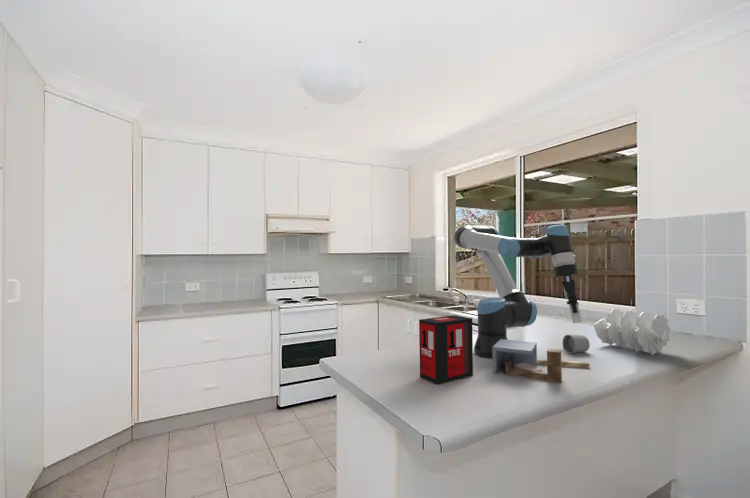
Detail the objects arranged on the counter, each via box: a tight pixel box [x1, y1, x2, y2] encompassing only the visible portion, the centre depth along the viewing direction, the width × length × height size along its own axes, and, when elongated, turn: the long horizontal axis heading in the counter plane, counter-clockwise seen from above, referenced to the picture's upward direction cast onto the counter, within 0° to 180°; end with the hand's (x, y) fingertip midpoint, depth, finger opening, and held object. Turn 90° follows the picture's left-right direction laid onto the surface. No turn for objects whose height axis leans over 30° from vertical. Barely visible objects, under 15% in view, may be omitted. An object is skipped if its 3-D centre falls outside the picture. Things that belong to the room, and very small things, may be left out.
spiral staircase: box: [593, 307, 671, 356], centre depth 165 cm, size 18×18×25 cm
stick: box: [537, 358, 591, 369], centre depth 143 cm, size 18×2×2 cm, turn 73°
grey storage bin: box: [492, 339, 538, 374], centre depth 138 cm, size 13×14×9 cm
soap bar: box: [514, 363, 543, 372], centre depth 136 cm, size 5×9×2 cm, turn 20°
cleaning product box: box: [418, 314, 474, 386], centre depth 132 cm, size 16×9×20 cm, turn 122°
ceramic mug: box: [561, 334, 591, 354], centre depth 164 cm, size 11×8×8 cm
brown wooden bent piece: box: [504, 348, 563, 384], centre depth 133 cm, size 18×11×10 cm, turn 60°
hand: (577, 323), depth 137 cm, fingers open, 13 cm apart
